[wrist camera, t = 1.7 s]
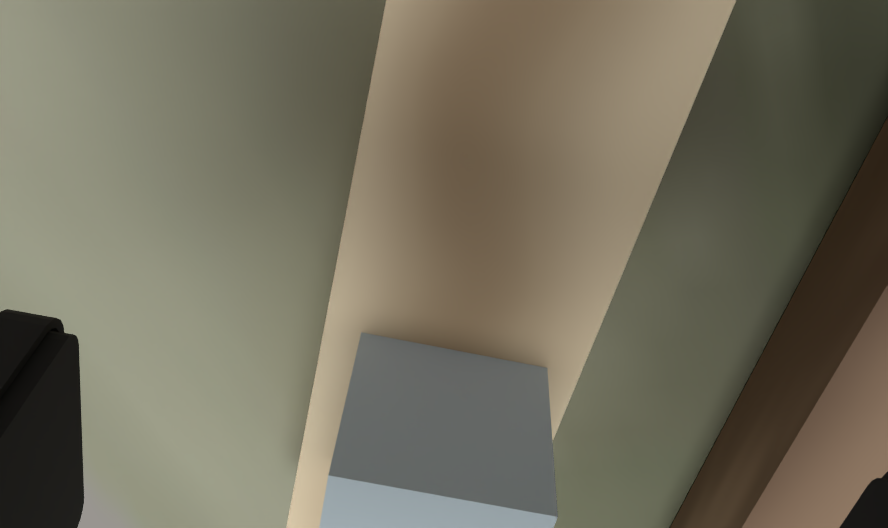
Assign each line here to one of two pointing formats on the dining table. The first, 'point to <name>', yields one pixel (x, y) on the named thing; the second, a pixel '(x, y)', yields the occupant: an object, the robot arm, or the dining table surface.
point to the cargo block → (441, 442)
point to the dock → (813, 386)
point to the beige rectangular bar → (502, 185)
